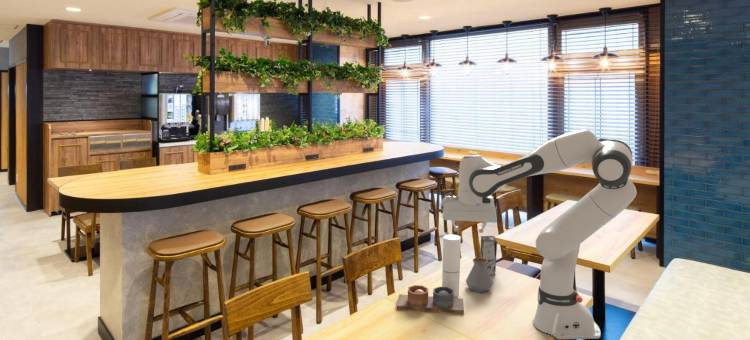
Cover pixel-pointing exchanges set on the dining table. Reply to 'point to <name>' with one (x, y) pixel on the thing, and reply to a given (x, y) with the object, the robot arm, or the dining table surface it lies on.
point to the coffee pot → (481, 275)
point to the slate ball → (443, 293)
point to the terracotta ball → (419, 291)
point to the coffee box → (489, 252)
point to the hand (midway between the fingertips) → (468, 231)
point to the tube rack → (430, 300)
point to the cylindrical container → (451, 262)
